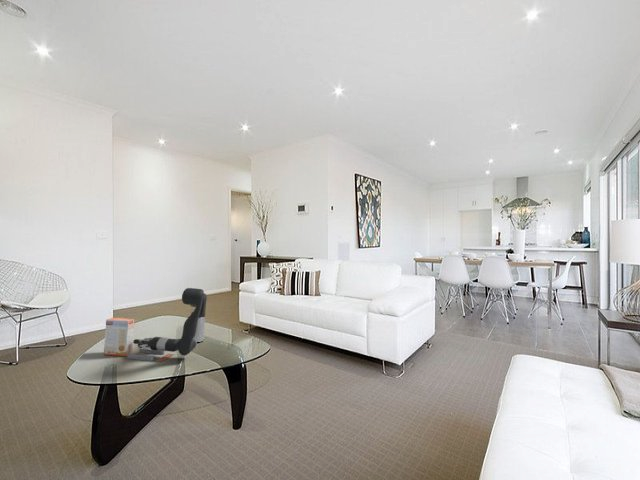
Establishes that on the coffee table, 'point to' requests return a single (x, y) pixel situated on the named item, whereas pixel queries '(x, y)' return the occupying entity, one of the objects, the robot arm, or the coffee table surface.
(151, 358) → the channel
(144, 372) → the coffee table surface
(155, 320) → the coffee table surface
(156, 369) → the coffee table surface
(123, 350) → the cracker box
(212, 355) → the coffee table surface
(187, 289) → the robot arm
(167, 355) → the pad
